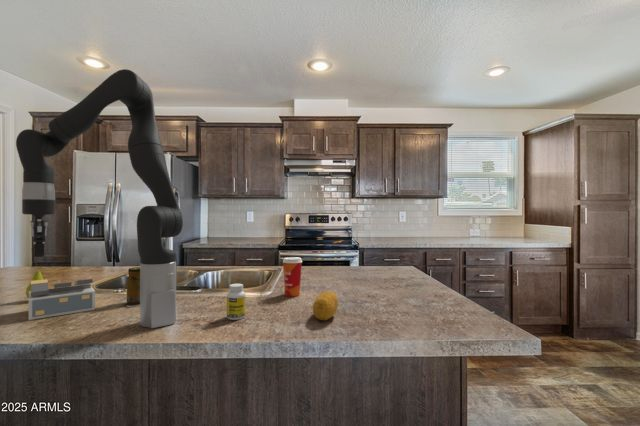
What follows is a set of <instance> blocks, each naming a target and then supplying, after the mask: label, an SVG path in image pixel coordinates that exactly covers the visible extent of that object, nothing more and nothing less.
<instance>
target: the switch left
mask: <svg viewBox="0 0 640 426" xmlns="http://www.w3.org/2000/svg"><path fill="white" fill-rule="evenodd" d="M30 283H31V296H37V295H45V294H49V289H50V288H49V281H48V278H45V279H43V280H35V281H32V280H31V281H30Z"/></svg>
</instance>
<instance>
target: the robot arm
mask: <svg viewBox="0 0 640 426" xmlns="http://www.w3.org/2000/svg"><path fill="white" fill-rule="evenodd" d="M118 101H120V102H121V103H123V104H124V105H125V106H126V108H127V110H128V113H129V117H130V121H131V130H130V133H129V136H128V140H127V151H128V155H129V159H130V164H131V166H132V168H133V171H134V172H135V173H136V175H137V176H138V178H140V180H141V181H142V182H143V183H144V184H145V186H146V187H147V188H148V189H149V190H150V192H151V194H152V196H153V197H154V199H155V200H154V201H155V202H156V203H155V204H156V205H145V206H143V207H142V208H141V209H140V210H139V211H138V213H137V218H136V234H137V236H136V237H137V252H138V256H139V258H140V261H139V263H140V265H139V267H140V306H139V317H140V318H139V320H140V321H139V325H140V327H144V328H150V329H157V328H160V327H165V326H166V327H167V326H171V325H175V323H176V321H177V253H176V251H174V250H172V249H169V248H166V247H165V246H164V245H163V242H162V239H166V238H174V237H177V236H179V235H180V234H181V232H182V230H183V227H184V223H183V215H182V211H181V208H180V205H179V203H178V199H177V197H176V194H175V191H174V188H173V185H172V182H171V181H172V180H171V178H170V174H169V170H168V165H167V161H166V156H165V151H164V147H163V144H162V141H161V136H160V132H159V128H158V124H157V121H156V112H155V106H154V103H155V102H154V97H153V91H152V89H151V88H150V86H149V85H148V83H147V82H145V81H144V80H143V79H142V78H141V77H140V76H139V75H138V74H137V73H136V72H134V71H132V70H130V69H120V70H117V71H115V72H113V73H112V74H110V76H109V77H107V78H106V79H105V80H104V81H102V83H100V84H99V85H98V86H97V87H96V88H94V89H93V90H92V91H91V92H89V94H88V95H86V96H85V97H84V98H83V99H82V100H80V101H79V102H78V103H77V104H75V105H74V106H73V107H71V108H70V109H68V110H66V111H64V112H63V113H61V114H59V115H58V116H56V117H54V118H52V119H51V120H50V121H49V122H48V129H49V131H47V132H41V131H38V130H36V129H32V128H31V129H30V128H27V129H23V130H22V131H20V132H19V134H18V135H17V137H16V140H15V141H16V142H15V146H16V151H17V154H18V158H19V160H20V163H21V166H22V169H23V170H22V171H23V173H22V181H23V182H22V183H23V184H22V191H21V199H22V200H21V203H22V204H21V213H22V215H33V220H30V221H29V222H30V227H31V237H33V238H32V242H33V243H32V244H33V247H34V248H33V250H34V251H33V252H34V253H33V254H34V255H33V256H34V257H36V258H42V257H44V256H45V244H46V236H47V235H48V234H47V232H48V231H47V230H48V228H47V227H48V226H49V225H48V224H49V222H48V220H45V216H46V215H55V213H56V189H55V171H54V167H53V166H52V165H50V164H49V163H47V162H46V159H45V158H49V157H50V158H51V157H53V156H56V155H58V154H59V153H60V152H62V151H63V150H65V148H66V146H67V145H68V144H70V142H71V141H72V140H74V139H76V138H77V137H80V136H81V135H82V134H84V133H85V132H87V131H88V130H90V129H91V128H92V127H93V126H94V125H95V123H96V122H97V120H98V119H99V117H100V115H101V113H102V112H103V110H104V109H106V107H108V106H109V105H111V104H113V103H115V102H118Z"/></svg>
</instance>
